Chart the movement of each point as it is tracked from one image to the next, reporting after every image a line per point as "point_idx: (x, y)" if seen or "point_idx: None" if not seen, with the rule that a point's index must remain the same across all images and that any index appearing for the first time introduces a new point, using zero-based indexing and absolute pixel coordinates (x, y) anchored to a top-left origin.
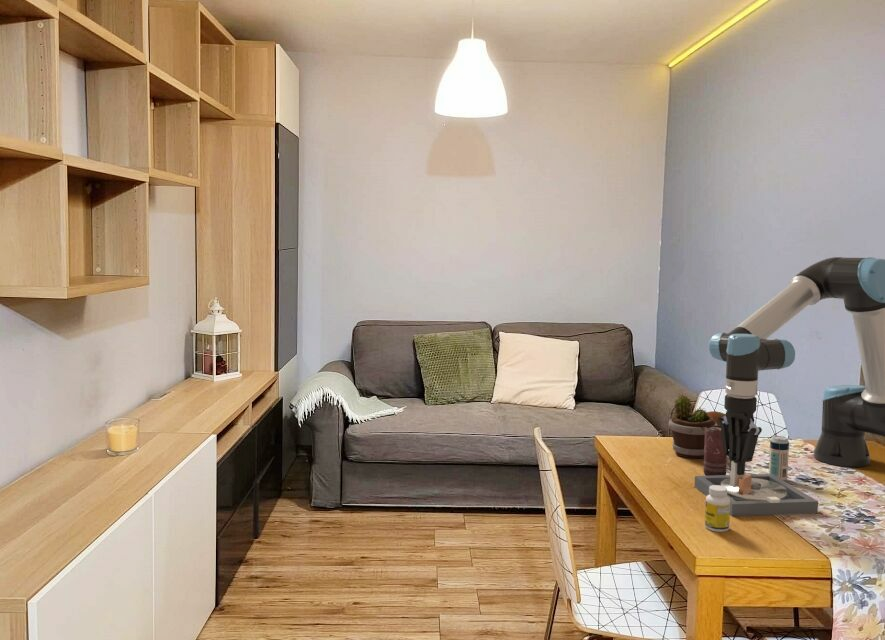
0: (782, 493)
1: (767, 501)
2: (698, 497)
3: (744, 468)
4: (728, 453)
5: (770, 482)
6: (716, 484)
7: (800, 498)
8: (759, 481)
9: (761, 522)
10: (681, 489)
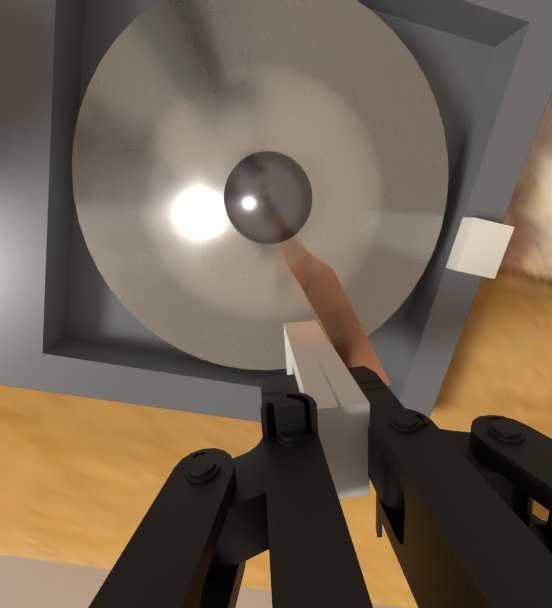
0: (421, 110)
1: (461, 277)
2: (180, 416)
3: (390, 394)
4: (243, 546)
5: (221, 9)
6: (68, 278)
7: (465, 16)
8: (184, 77)
9: (487, 352)
10: (68, 428)
